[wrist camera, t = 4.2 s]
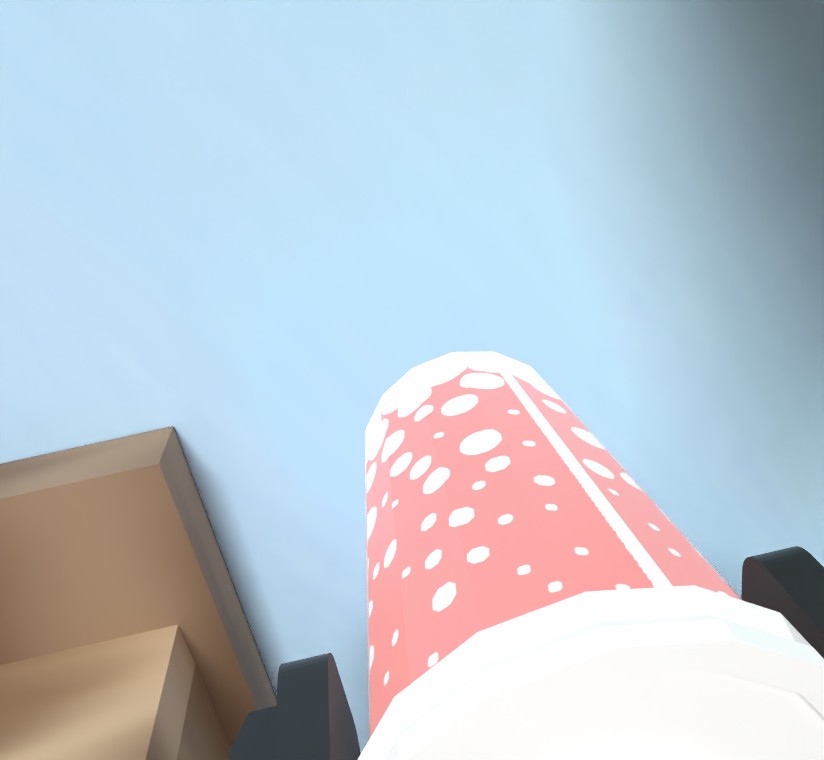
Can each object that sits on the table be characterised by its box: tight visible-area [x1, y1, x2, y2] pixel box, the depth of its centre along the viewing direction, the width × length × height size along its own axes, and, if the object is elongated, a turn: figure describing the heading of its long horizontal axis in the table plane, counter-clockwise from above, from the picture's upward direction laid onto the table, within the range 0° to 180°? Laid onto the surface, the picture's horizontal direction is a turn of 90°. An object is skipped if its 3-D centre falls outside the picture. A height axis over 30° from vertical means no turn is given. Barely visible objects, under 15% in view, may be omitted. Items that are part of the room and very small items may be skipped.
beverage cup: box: [358, 352, 824, 760], centre depth 10 cm, size 6×6×14 cm
